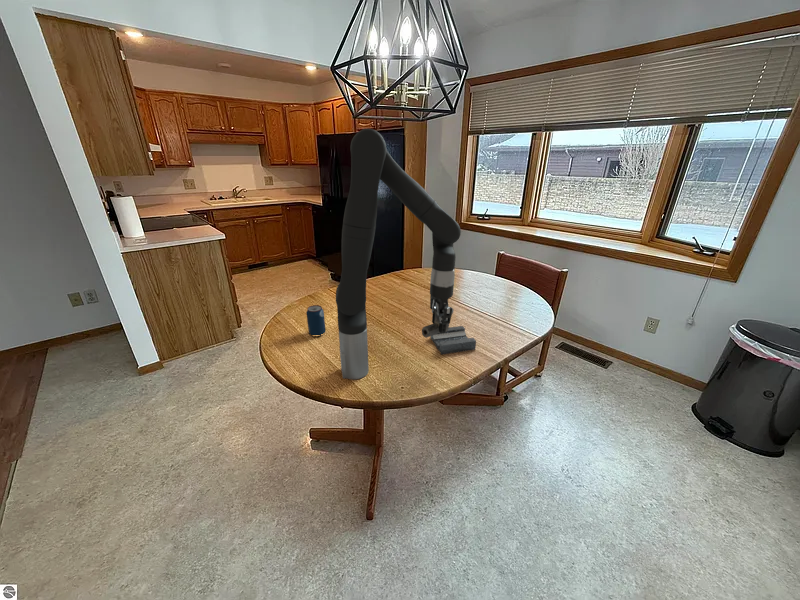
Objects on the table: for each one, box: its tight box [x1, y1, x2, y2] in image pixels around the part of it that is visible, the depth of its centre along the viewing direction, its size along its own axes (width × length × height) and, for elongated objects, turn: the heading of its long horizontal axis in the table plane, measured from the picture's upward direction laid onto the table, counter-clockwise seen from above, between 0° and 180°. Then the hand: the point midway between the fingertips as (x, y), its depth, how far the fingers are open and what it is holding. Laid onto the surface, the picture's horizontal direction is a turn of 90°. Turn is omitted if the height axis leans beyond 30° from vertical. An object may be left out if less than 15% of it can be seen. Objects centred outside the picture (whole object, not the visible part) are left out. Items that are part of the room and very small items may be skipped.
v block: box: [430, 325, 477, 355], centre depth 129 cm, size 14×12×4 cm
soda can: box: [306, 304, 327, 336], centre depth 134 cm, size 7×7×12 cm
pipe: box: [421, 307, 454, 339], centre depth 108 cm, size 6×13×8 cm, turn 134°
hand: (438, 327), depth 110 cm, fingers closed on pipe, 6 cm apart
